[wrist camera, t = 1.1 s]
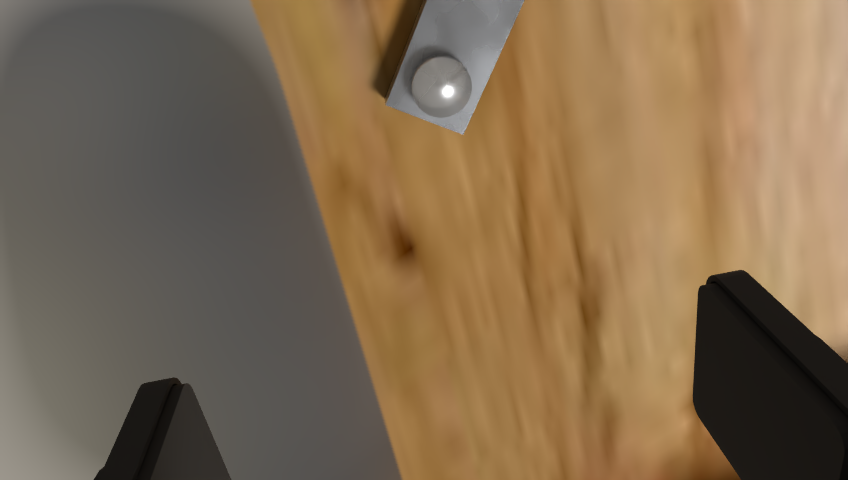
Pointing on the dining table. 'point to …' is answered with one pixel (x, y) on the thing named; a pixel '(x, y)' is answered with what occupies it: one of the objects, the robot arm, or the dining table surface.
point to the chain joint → (450, 59)
